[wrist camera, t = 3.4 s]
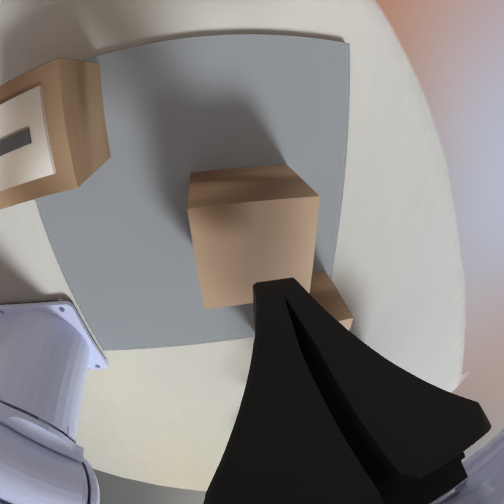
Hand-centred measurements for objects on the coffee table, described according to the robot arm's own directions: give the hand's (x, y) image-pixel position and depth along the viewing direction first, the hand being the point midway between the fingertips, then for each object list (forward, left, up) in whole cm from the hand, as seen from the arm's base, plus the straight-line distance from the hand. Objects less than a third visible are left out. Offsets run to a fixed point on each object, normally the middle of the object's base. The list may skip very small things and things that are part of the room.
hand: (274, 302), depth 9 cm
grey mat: (-3, -1, -8) cm, 8 cm away
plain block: (0, 0, -7) cm, 7 cm away
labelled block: (-9, +6, -7) cm, 13 cm away
